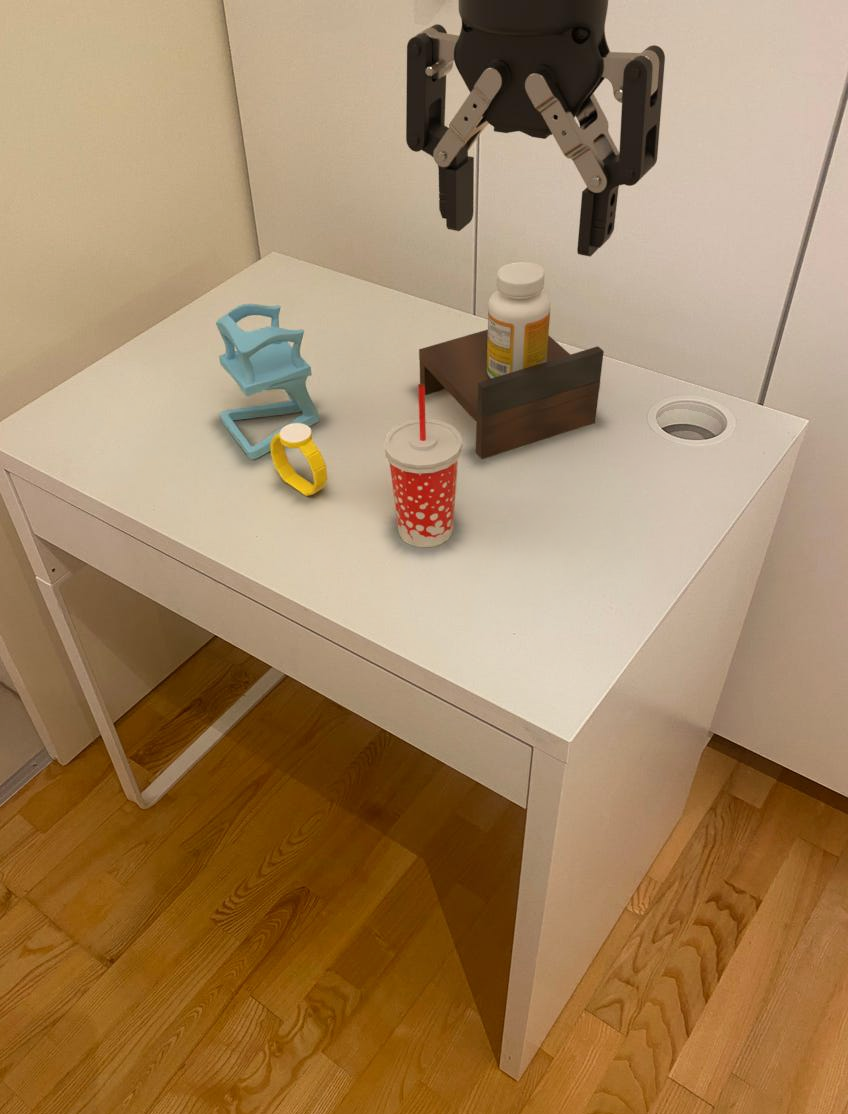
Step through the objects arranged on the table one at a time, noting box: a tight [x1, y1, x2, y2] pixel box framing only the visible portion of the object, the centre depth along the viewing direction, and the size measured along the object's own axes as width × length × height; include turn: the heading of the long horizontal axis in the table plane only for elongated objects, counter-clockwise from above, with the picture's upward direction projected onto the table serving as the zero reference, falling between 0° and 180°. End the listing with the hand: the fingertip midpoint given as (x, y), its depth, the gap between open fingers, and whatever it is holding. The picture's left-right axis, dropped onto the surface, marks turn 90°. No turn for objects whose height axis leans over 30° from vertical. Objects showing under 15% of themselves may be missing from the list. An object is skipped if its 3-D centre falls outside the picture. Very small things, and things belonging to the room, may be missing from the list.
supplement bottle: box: [487, 261, 551, 378], centre depth 87 cm, size 5×5×10 cm
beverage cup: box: [383, 383, 463, 549], centre depth 78 cm, size 6×6×14 cm
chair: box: [215, 303, 320, 460], centre depth 91 cm, size 8×8×12 cm
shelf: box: [418, 329, 604, 460], centre depth 93 cm, size 12×13×8 cm
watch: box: [270, 423, 328, 497], centre depth 86 cm, size 6×3×6 cm, turn 45°
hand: (522, 237), depth 59 cm, fingers open, 8 cm apart
